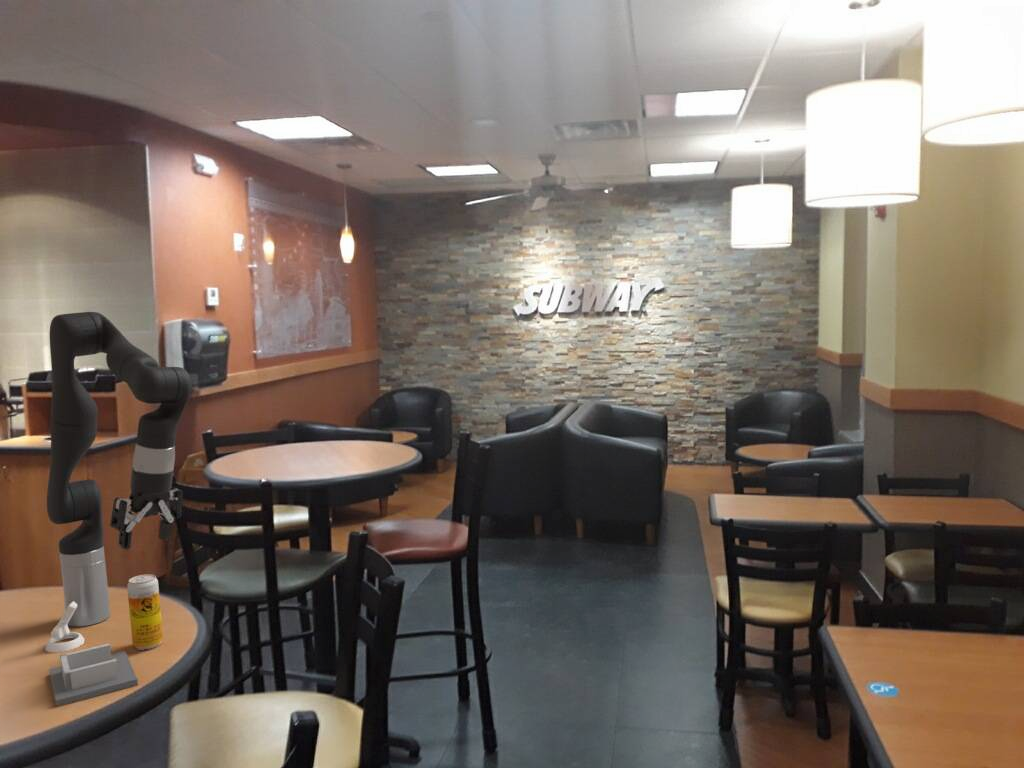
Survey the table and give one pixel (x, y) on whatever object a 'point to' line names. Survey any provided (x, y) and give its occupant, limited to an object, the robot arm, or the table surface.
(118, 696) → the table surface
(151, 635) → the beer can
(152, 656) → the table surface
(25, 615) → the table surface
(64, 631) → the hook
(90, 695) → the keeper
